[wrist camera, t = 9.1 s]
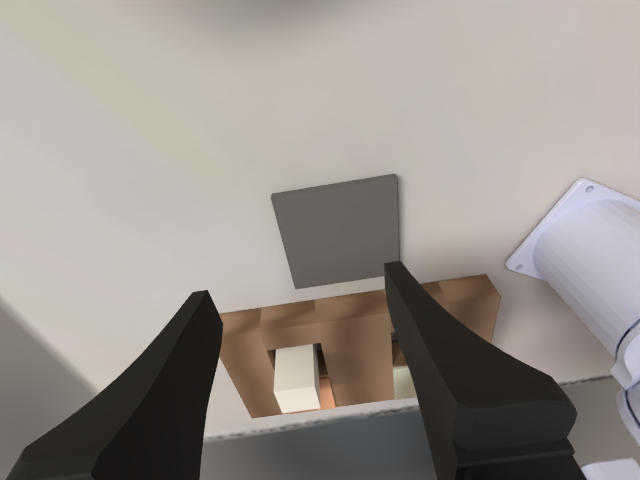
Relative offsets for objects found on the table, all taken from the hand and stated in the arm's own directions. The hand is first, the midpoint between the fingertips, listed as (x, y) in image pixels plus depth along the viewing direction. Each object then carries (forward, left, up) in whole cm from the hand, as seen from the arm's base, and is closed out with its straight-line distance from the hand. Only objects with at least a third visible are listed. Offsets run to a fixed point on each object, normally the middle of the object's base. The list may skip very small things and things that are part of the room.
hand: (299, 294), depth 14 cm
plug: (-5, +14, -10) cm, 18 cm away
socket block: (-10, +13, -10) cm, 19 cm away
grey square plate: (-4, +3, -10) cm, 11 cm away
